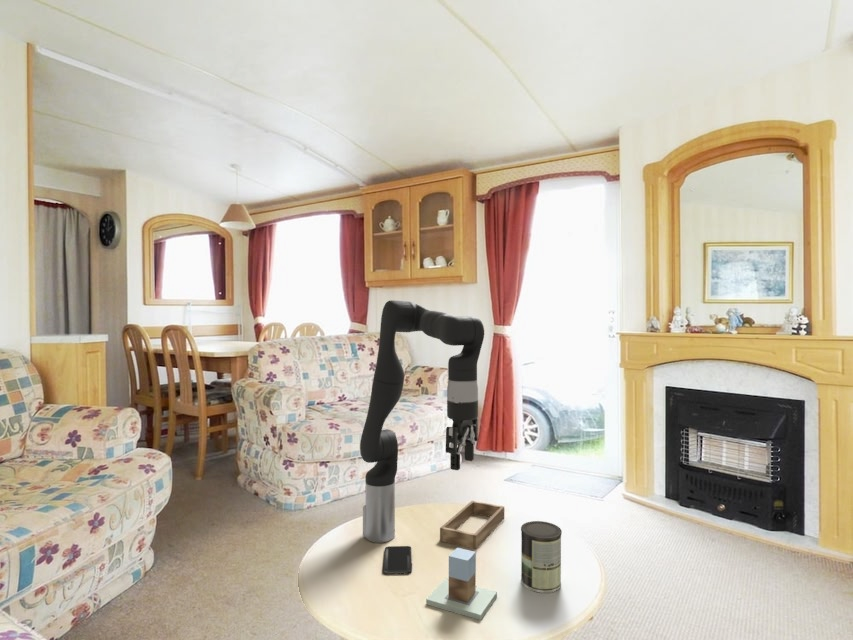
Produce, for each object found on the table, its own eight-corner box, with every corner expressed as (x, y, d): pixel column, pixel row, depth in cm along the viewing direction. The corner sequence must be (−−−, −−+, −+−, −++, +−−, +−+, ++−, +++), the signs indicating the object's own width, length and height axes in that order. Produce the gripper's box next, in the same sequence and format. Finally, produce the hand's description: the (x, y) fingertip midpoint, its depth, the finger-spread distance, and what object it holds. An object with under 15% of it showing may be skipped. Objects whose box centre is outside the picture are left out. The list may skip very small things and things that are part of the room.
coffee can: (513, 584, 131) (513, 529, 131) (532, 568, 139) (532, 517, 139) (550, 598, 124) (550, 541, 124) (568, 581, 132) (568, 527, 132)
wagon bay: (440, 540, 156) (440, 527, 156) (471, 511, 179) (471, 500, 179) (476, 549, 151) (476, 535, 150) (504, 518, 174) (504, 506, 174)
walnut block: (448, 597, 122) (448, 576, 122) (456, 587, 127) (457, 567, 127) (467, 602, 120) (467, 581, 120) (475, 592, 124) (475, 572, 124)
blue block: (448, 576, 122) (448, 555, 122) (457, 567, 127) (457, 547, 127) (467, 581, 120) (467, 560, 120) (475, 572, 124) (475, 551, 124)
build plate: (426, 604, 122) (426, 598, 122) (445, 582, 131) (445, 577, 131) (480, 620, 115) (480, 614, 115) (496, 596, 125) (496, 591, 125)
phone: (382, 571, 136) (385, 546, 151) (382, 576, 136) (385, 550, 151) (412, 571, 136) (411, 545, 151) (412, 575, 136) (411, 549, 151)
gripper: (460, 393, 131) (459, 455, 131) (435, 401, 118) (435, 470, 118) (487, 395, 128) (487, 459, 128) (465, 404, 115) (465, 475, 115)
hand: (462, 464), depth 123 cm, fingers open, 8 cm apart
